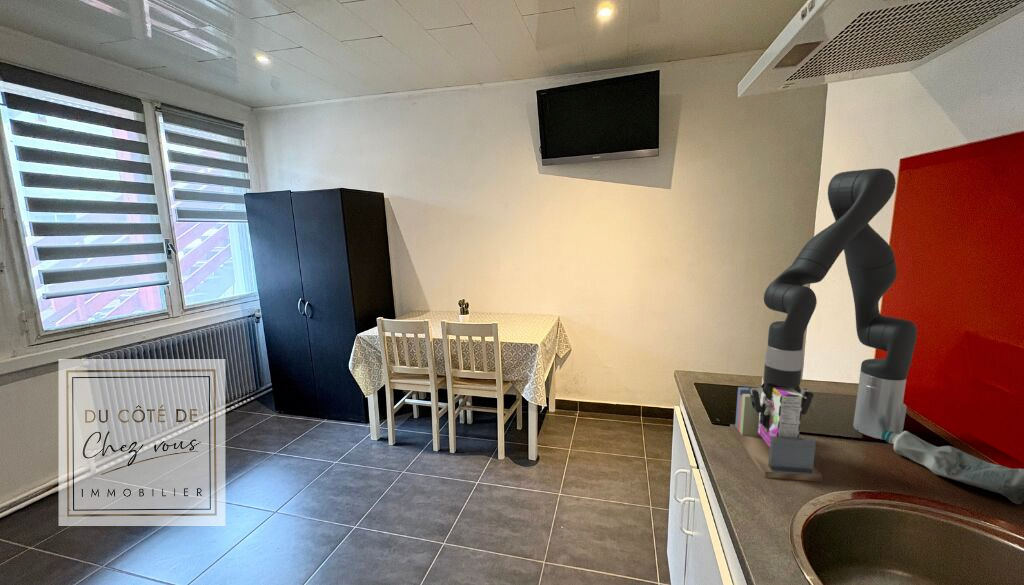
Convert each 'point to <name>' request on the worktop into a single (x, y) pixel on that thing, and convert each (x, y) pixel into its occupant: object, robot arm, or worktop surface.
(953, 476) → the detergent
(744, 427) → the row of books
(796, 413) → the candy bar box
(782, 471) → the bookend
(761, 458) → the shelf board
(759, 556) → the worktop surface
